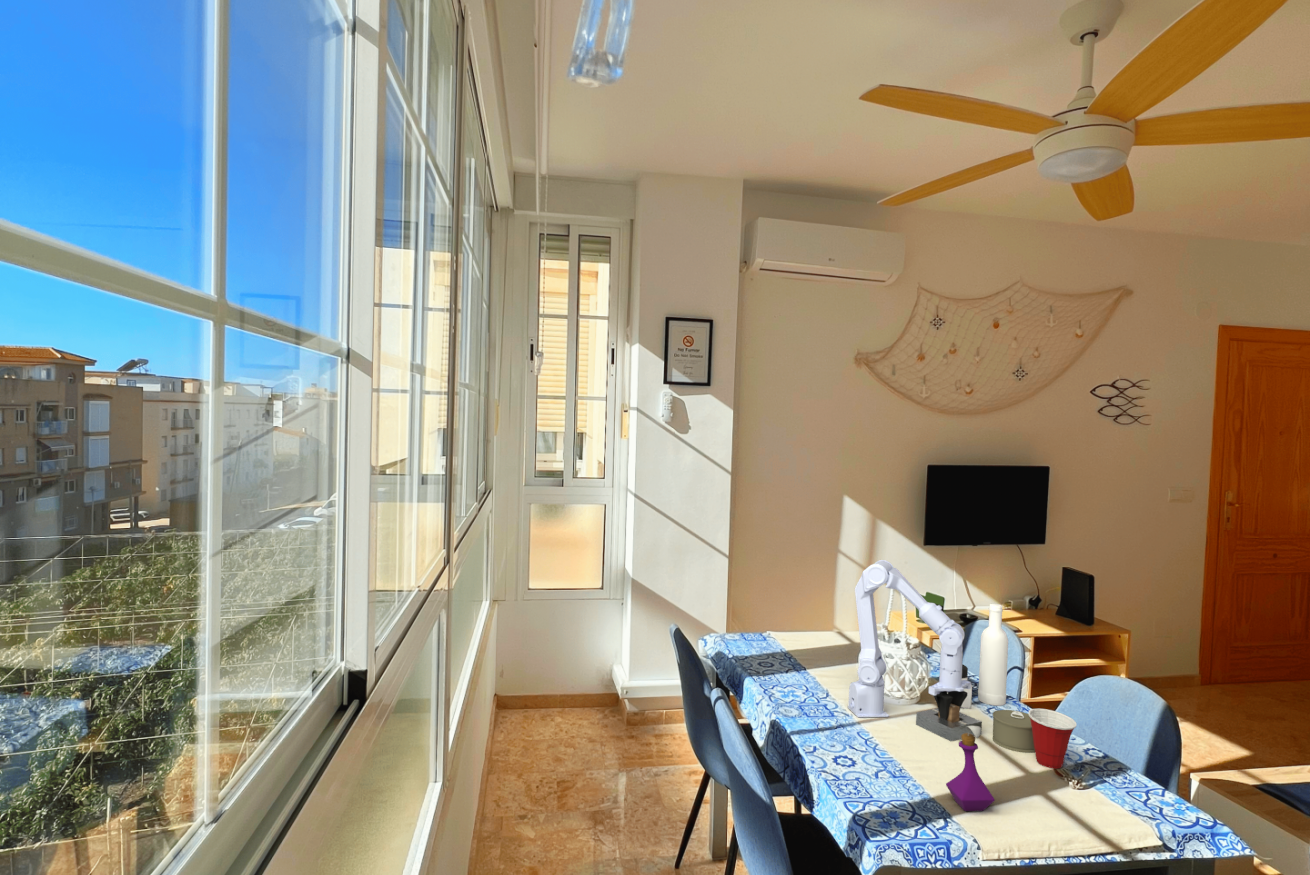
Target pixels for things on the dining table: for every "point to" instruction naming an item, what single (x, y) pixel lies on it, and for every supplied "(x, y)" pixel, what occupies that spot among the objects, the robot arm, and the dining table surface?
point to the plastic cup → (1050, 736)
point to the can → (1013, 731)
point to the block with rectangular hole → (946, 724)
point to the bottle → (993, 660)
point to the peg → (953, 713)
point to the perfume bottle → (970, 778)
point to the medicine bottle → (969, 691)
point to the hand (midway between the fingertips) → (948, 717)
